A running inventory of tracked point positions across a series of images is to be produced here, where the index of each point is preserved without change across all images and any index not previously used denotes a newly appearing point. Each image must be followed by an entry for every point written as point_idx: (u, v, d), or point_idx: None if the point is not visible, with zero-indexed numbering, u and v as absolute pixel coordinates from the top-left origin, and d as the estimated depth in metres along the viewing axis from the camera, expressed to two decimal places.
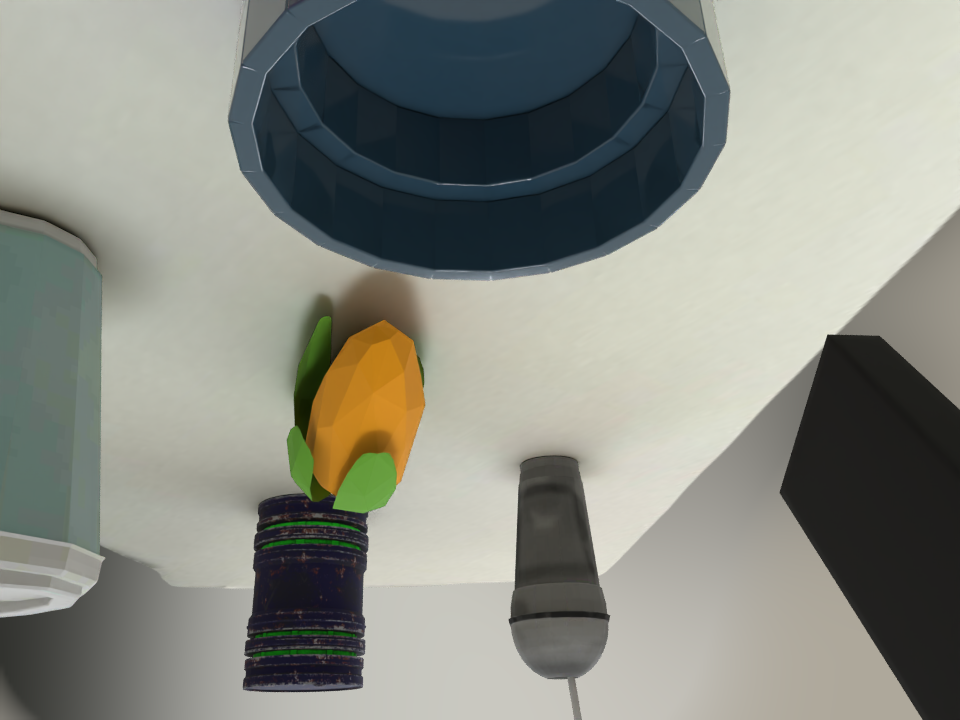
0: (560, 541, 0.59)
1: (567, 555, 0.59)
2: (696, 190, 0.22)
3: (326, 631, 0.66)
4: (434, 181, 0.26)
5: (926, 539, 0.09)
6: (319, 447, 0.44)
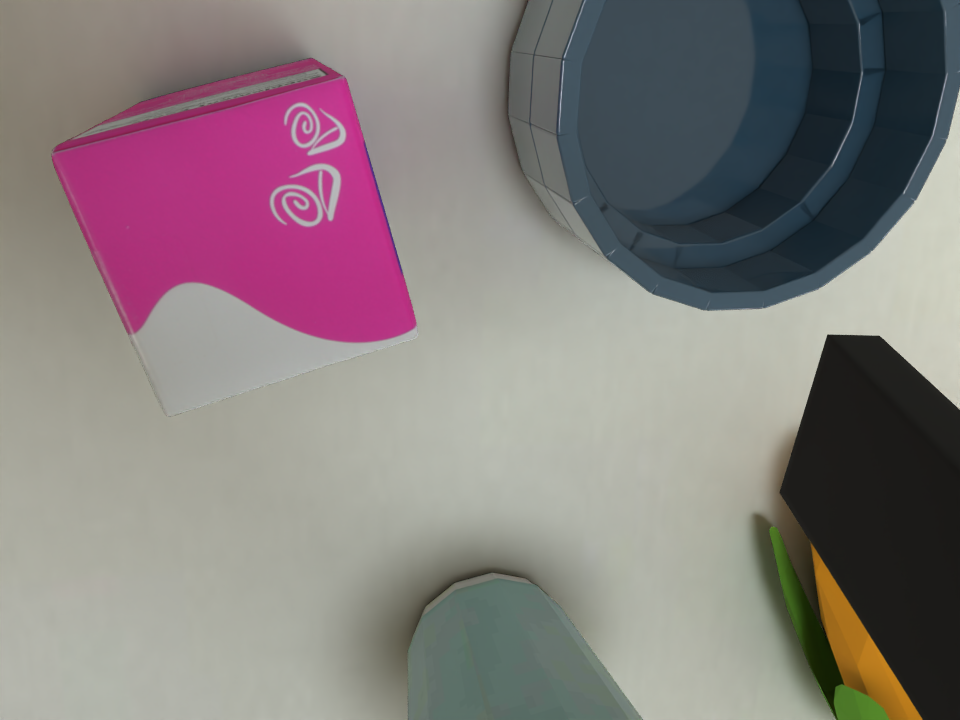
0: None
1: None
2: (959, 3, 0.23)
3: None
4: (757, 231, 0.28)
5: (926, 539, 0.09)
6: (878, 697, 0.35)
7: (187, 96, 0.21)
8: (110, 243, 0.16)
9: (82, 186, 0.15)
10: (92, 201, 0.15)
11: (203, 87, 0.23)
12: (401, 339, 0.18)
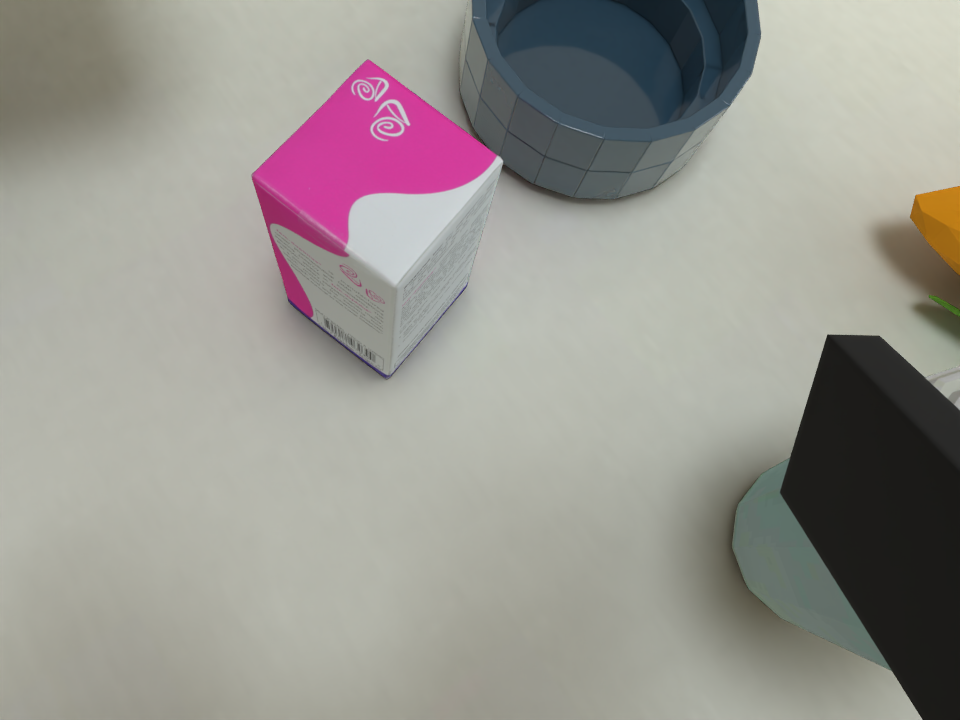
0: None
1: None
2: None
3: None
4: (695, 98, 0.37)
5: (926, 539, 0.09)
6: None
7: None
8: (305, 201, 0.25)
9: (275, 180, 0.25)
10: (284, 185, 0.25)
11: None
12: (494, 165, 0.26)
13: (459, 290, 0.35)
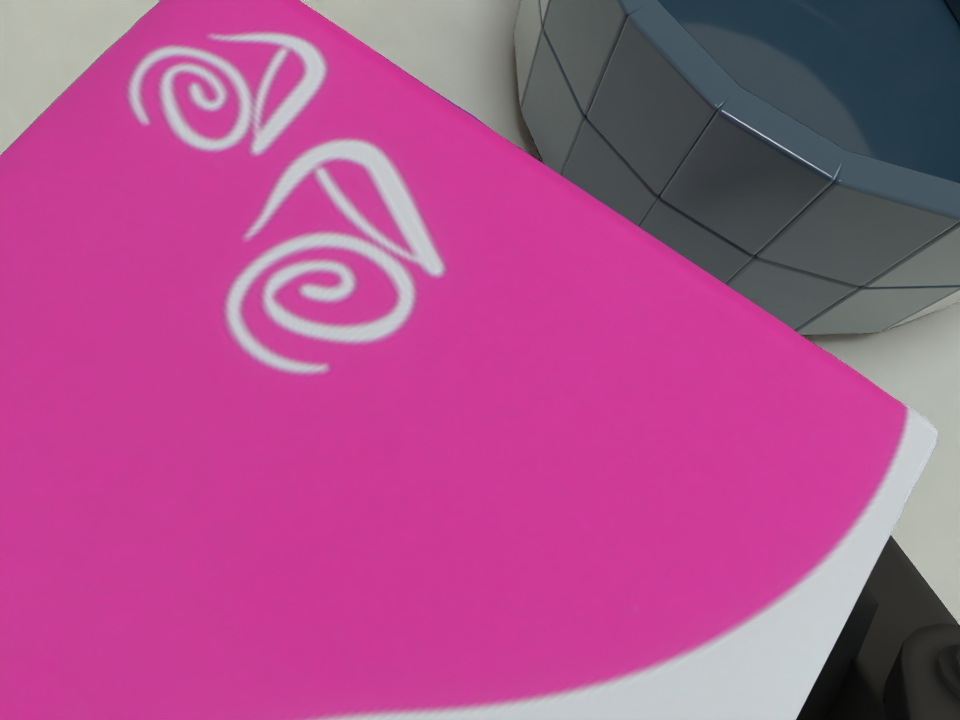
0: None
1: None
2: None
3: None
4: None
5: None
6: None
7: None
8: None
9: None
10: None
11: None
12: (909, 466, 0.05)
13: None
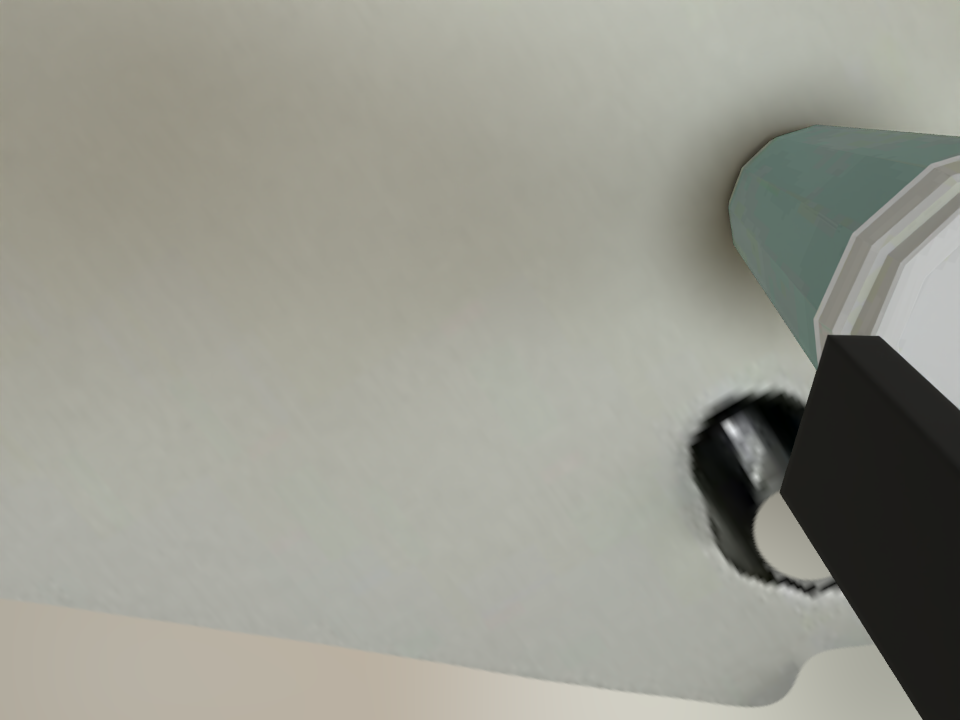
0: None
1: None
2: None
3: None
4: None
5: (926, 539, 0.09)
6: None
7: None
8: None
9: None
10: None
11: None
12: None
13: None
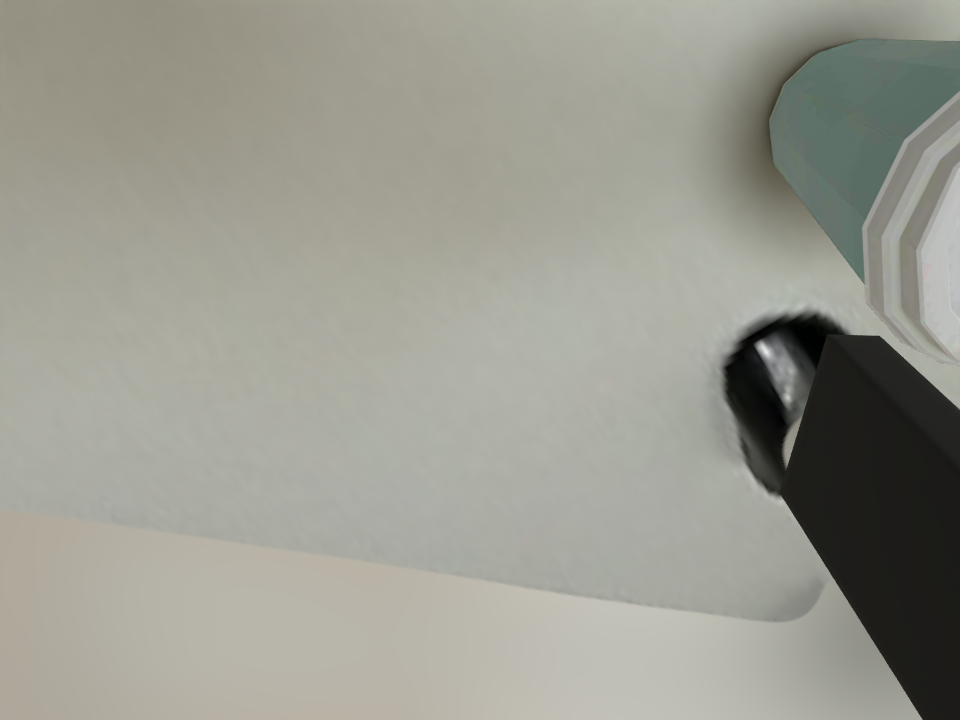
0: None
1: None
2: None
3: None
4: None
5: (927, 539, 0.09)
6: None
7: None
8: None
9: None
10: None
11: None
12: None
13: None
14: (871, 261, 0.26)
